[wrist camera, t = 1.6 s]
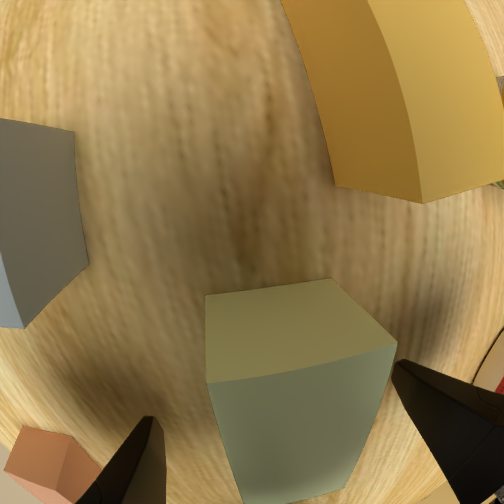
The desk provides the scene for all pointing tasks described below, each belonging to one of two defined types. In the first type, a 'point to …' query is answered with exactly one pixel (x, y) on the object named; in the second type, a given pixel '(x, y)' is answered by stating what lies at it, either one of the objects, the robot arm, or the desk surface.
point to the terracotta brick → (51, 466)
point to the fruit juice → (493, 368)
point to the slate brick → (37, 219)
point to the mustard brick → (402, 95)
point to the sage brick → (294, 386)
